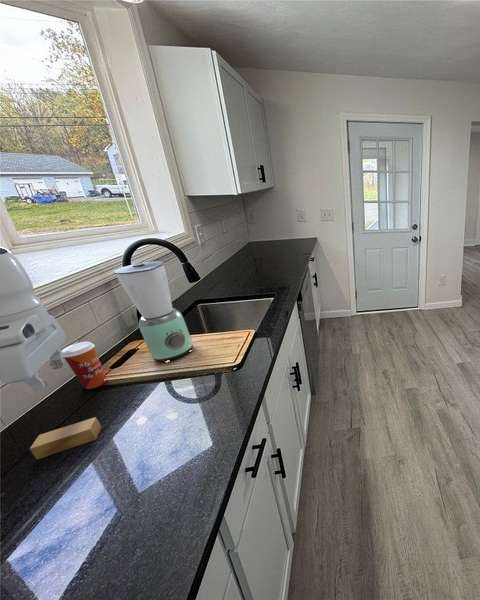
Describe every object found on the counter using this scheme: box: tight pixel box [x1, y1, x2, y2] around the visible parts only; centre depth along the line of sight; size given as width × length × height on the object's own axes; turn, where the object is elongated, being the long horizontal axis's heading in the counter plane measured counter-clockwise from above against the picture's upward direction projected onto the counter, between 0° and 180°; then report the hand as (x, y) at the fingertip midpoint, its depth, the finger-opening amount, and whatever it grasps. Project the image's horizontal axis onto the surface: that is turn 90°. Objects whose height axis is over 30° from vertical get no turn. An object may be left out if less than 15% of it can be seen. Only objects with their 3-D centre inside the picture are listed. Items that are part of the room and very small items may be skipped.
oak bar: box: [29, 416, 102, 460], centre depth 78 cm, size 11×5×4 cm, turn 120°
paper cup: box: [61, 341, 108, 390], centre depth 100 cm, size 8×8×14 cm
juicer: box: [113, 260, 194, 363], centre depth 111 cm, size 19×13×35 cm
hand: (50, 377), depth 71 cm, fingers open, 8 cm apart
